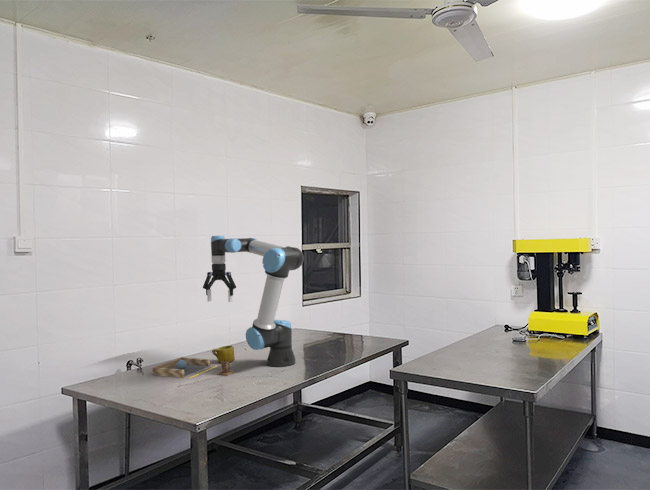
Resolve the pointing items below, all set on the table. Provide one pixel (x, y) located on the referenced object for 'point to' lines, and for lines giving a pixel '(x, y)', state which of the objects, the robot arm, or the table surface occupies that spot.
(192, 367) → the mat
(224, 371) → the tee
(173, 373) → the wooden u-shaped frame
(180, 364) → the ball
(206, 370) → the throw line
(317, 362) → the table surface
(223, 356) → the mug
